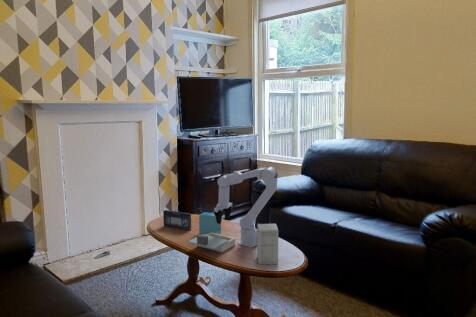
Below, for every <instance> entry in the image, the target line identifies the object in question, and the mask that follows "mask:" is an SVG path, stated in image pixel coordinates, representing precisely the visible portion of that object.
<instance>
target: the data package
mask: <svg viewBox="0 0 476 317" xmlns="http://www.w3.org/2000/svg"><path fill="white" fill-rule="evenodd" d="M198 215H199V216H198V224H199V226H198V230H199V235H200V234H201V235H202V234H204V235H206V234H209V233H215V234H220V235H222V234H221V233H222V223H221V224H217V221H216V217H215V215H214V213H211V212H206V211H205V212H202V213H201V214H198Z"/></svg>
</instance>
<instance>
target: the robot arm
mask: <svg viewBox="0 0 476 317" xmlns="http://www.w3.org/2000/svg"><path fill="white" fill-rule="evenodd" d="M278 177H279V173H278V170H277V168H275V167H274V166H268V167H262V168H260V167H259V168H256V169H253V170H250V171H246V172H244V173H243V172H241V171H237V170H236V171H234V172H233V173H226V174H225V175H222V176H219V178H218V179H217V185H218V200H217V201H218V203H217V204H216V207H214V208H213V210H212V212H213V214H214V215H215V217H216V221H217V224H221V225H222V220H223V219H222V218H223V216H224V220H225V221H229V220H230V218H231V214H232V212H233V210H234V207H233V202H230V187H231V186H232V185H236V184H241V183H242V182H243V181H244V180H246V179H251V178H257V179H262V182H263V183H264V184H265V189H264V190H263V191H262V193H261V195H259V197H258V199H257V200H256V201H255V203H254V204H253V206H252V207H251V209H250V210H249V211H248V212H247V213H246V214H245V215H244V217H242V218H240V220H239V226H240V241H239V242H237V244H238V245H241V246H244V247H247V248H248V247H249V248H254V247H255V246H256V247H257V228H256V227H255V223H256V220H257V217H258V215H259V214H260V213H261V211H262V210H263V208H264V207H265V206H266V204H267V203H268V201H269V200H270V199H271V197H272V196H273V195H274V193H275V192H276V190H277V188H278Z"/></svg>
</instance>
